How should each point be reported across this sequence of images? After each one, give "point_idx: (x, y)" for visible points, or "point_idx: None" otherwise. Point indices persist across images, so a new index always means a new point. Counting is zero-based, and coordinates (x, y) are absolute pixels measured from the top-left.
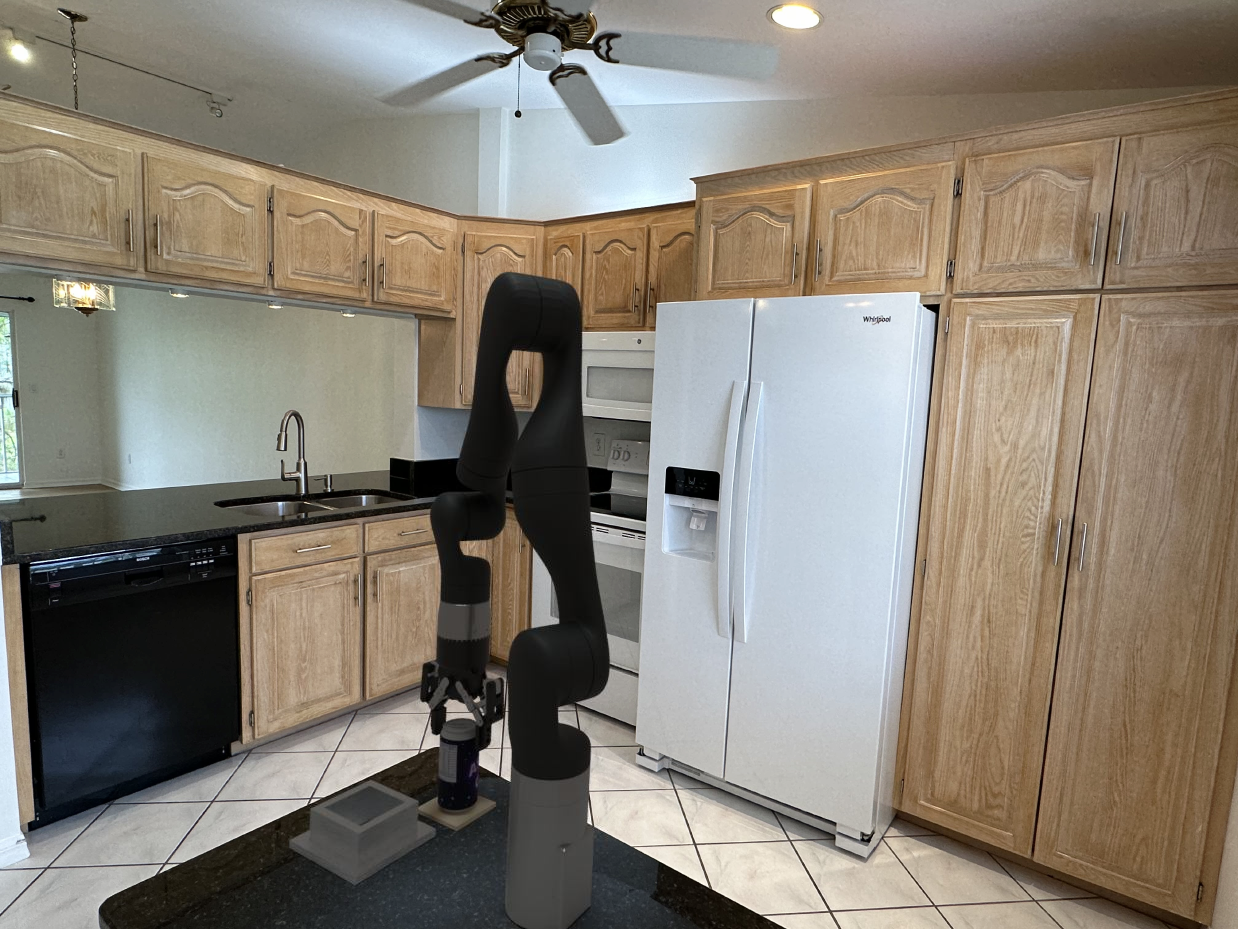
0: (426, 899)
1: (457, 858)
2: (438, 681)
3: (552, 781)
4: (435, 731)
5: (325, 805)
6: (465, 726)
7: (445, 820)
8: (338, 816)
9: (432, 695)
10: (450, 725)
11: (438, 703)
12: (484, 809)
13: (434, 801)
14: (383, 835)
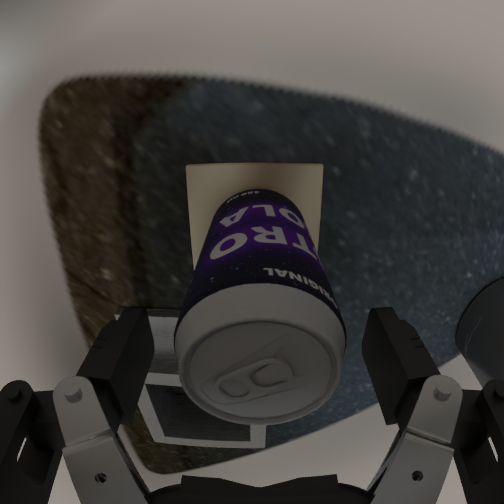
0: (371, 387)
1: (361, 325)
2: (4, 463)
3: None
4: (151, 360)
5: (159, 433)
6: (291, 378)
7: None
8: (202, 441)
9: (51, 439)
10: (227, 399)
11: (127, 454)
12: (320, 205)
13: (202, 246)
14: None
